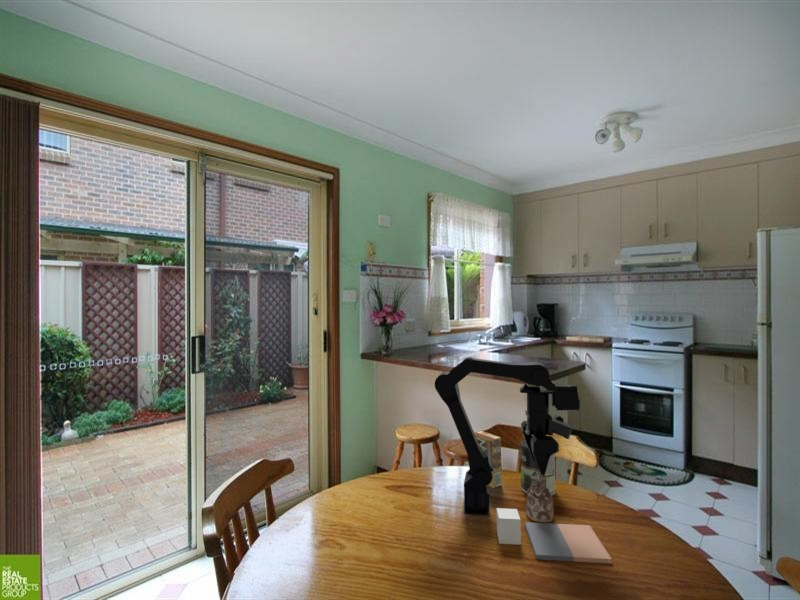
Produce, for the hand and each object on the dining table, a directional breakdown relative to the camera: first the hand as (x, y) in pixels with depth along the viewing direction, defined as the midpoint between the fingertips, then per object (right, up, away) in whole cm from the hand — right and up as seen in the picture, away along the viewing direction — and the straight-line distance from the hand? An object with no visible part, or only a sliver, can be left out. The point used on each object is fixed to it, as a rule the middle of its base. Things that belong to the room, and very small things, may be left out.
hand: (538, 467), depth 111 cm
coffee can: (+5, -14, +15) cm, 21 cm away
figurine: (0, -13, 0) cm, 13 cm away
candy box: (-9, -14, +21) cm, 27 cm away
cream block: (-11, -13, -11) cm, 20 cm away
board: (+2, -13, -14) cm, 19 cm away
